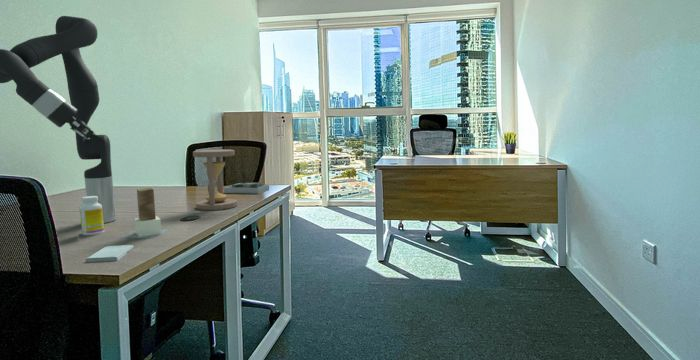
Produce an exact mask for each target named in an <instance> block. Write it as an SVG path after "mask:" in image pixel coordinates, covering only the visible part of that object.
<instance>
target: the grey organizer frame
mask: <svg viewBox="0 0 700 360" xmlns="http://www.w3.org/2000/svg"><path fill="white" fill-rule="evenodd" d="M232 185H233V184H230V185H227V186H223V194H254V195H257V194H261V193H264V192H266V190H267V191H269V190H270V184H269V183H263V186H261V187H258V188H242V187H232Z"/></svg>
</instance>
